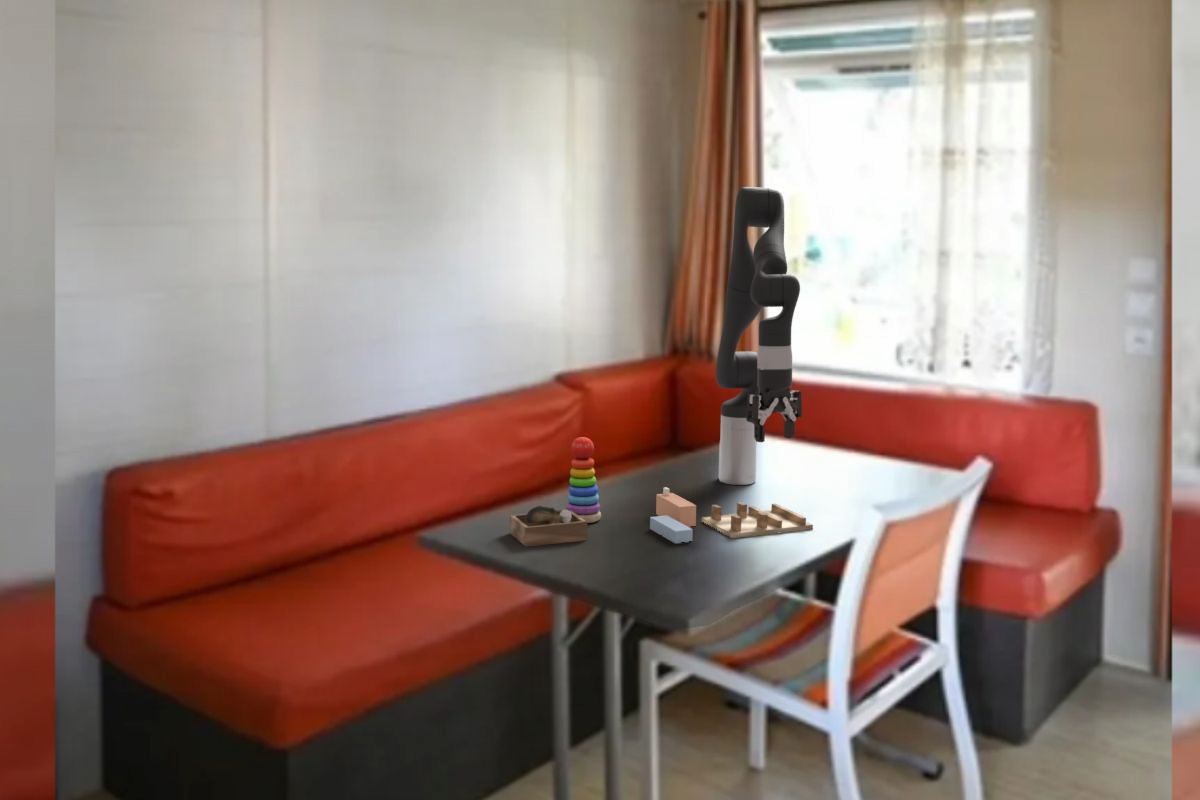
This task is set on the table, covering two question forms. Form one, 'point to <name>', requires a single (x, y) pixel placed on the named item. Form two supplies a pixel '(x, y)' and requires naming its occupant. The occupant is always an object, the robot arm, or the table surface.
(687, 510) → the knobbed wooden block
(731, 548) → the table surface
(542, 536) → the open wooden box
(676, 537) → the light blue rectangular block
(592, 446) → the stacking toy
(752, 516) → the jig
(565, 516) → the eagle figurine
